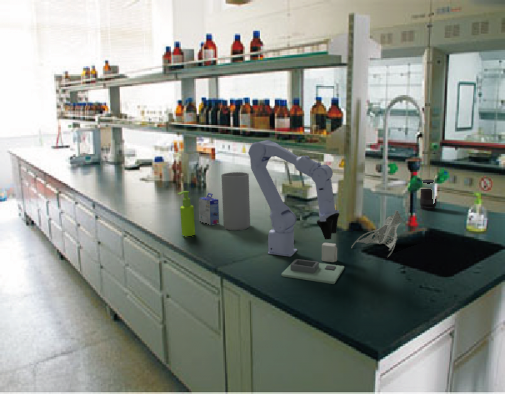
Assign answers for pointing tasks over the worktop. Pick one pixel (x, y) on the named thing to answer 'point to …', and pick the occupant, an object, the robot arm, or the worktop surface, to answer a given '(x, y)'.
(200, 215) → the ink cartridge box
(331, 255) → the keyed plug
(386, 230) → the skeletal model
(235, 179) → the cylinder vase
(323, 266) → the white board with tray
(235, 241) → the worktop surface
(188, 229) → the soap dispenser
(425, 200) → the camera lens
